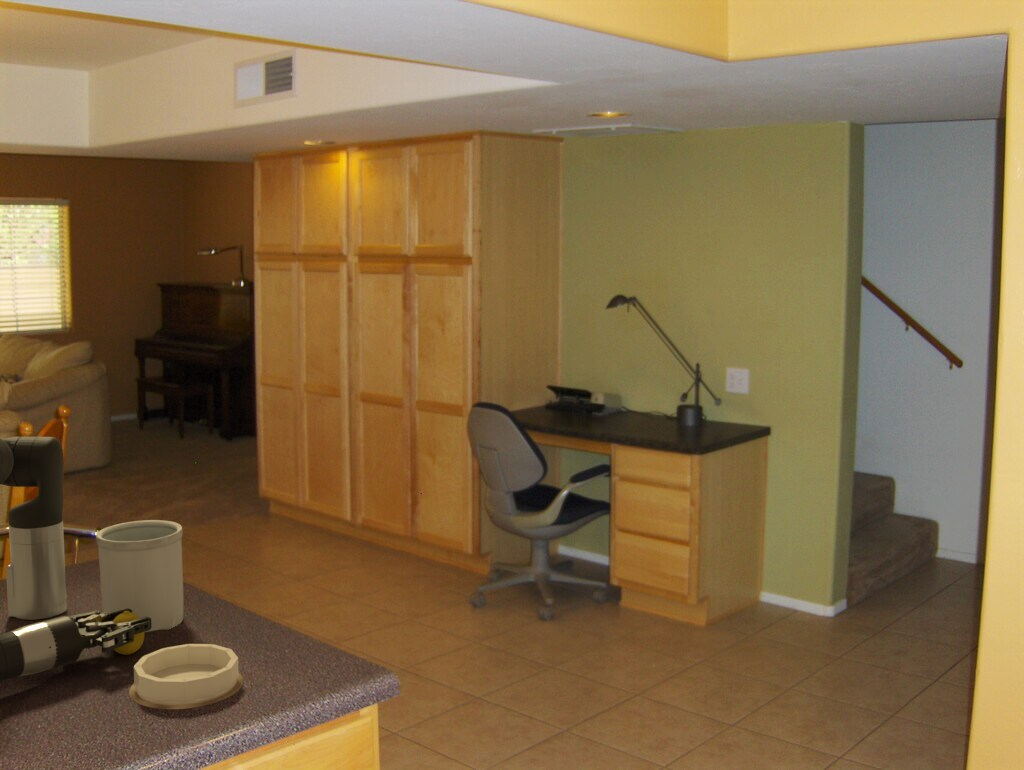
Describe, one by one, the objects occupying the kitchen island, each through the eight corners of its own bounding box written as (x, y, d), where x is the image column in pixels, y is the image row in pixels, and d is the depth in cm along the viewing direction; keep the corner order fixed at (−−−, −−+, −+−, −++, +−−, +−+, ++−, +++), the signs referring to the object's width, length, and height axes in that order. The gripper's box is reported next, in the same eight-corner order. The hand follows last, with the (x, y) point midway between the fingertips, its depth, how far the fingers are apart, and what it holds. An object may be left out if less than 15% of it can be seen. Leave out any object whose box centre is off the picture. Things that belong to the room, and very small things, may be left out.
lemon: (133, 664, 176) (132, 618, 175) (103, 661, 177) (101, 615, 176) (151, 652, 182) (150, 607, 181) (121, 649, 183) (120, 604, 182)
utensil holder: (83, 635, 189) (79, 539, 187) (123, 607, 204) (120, 517, 201) (163, 640, 187) (160, 543, 185) (198, 611, 202) (195, 521, 200)
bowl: (121, 705, 159) (120, 680, 159) (155, 665, 174) (154, 643, 173) (222, 706, 159) (221, 682, 159) (247, 667, 174) (246, 644, 173)
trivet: (112, 713, 158) (112, 708, 158) (151, 668, 175) (151, 663, 175) (227, 715, 158) (227, 709, 158) (255, 669, 175) (255, 664, 175)
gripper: (64, 634, 163) (163, 606, 176) (19, 612, 172) (117, 587, 185) (66, 681, 164) (164, 650, 177) (22, 657, 173) (119, 629, 186)
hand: (140, 618), depth 181 cm, fingers closed on lemon, 5 cm apart
